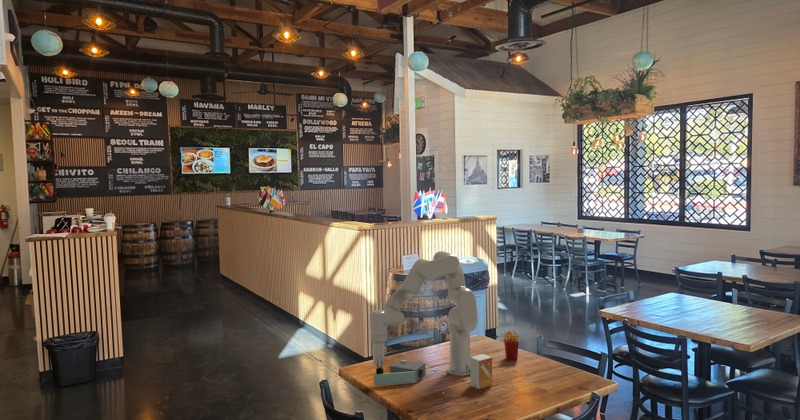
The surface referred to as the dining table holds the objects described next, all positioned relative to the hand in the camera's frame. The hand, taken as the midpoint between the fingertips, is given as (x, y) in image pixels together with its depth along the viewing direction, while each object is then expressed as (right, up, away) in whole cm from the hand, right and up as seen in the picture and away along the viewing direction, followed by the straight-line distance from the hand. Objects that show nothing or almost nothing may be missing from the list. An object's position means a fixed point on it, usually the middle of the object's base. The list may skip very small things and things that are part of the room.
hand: (379, 376), depth 240 cm
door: (+7, -3, -1) cm, 8 cm away
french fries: (+66, -1, +31) cm, 73 cm away
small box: (+46, -3, -4) cm, 46 cm away
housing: (+13, -3, +9) cm, 16 cm away
